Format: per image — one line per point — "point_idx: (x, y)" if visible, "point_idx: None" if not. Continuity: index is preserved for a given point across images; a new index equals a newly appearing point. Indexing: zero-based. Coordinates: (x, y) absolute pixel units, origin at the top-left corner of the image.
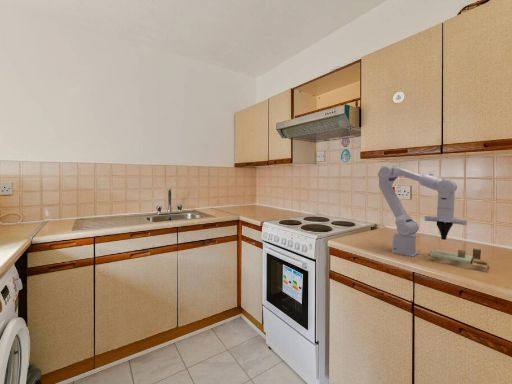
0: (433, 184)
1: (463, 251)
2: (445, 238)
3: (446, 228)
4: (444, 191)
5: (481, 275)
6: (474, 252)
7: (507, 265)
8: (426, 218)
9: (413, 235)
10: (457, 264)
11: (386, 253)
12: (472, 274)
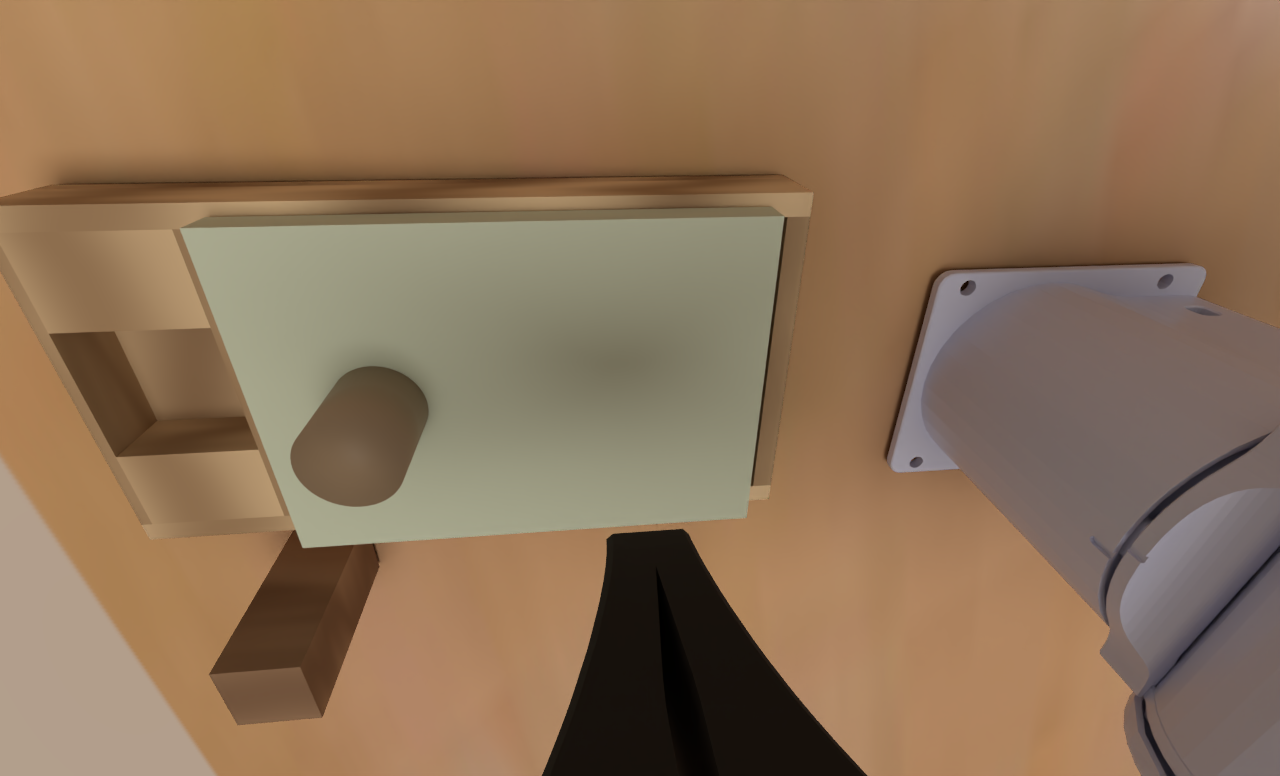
0: None
1: (310, 439)
2: (607, 559)
3: None
4: None
5: (63, 71)
6: (297, 631)
7: (149, 676)
8: None
9: (1194, 537)
10: (387, 188)
11: (1276, 165)
12: (152, 12)
